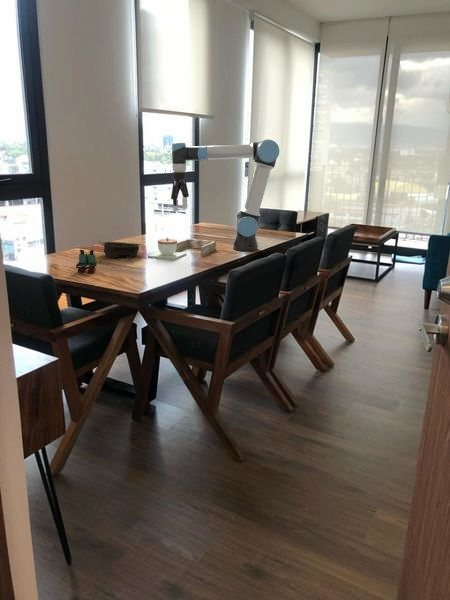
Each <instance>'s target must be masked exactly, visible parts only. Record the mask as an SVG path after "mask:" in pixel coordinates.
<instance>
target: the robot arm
mask: <svg viewBox="0 0 450 600" xmlns="http://www.w3.org/2000/svg"><path fill="white" fill-rule="evenodd" d="M279 155H280V147H279V144H277V142H276V141H274V140H272V139H269V138H268V139H264V140H261V141H257V142H251V143H249V144H228V145H227V144H225V145H204V146H203V145H200V146H199V145H198V146H191V145H190V146H187V145H186V143H185V142H173V143H171V158H172V159H171V160H172V165H171V167H172V179H173V181H172V188H171V190H172V191H171V194H170V200H172V206H173V207H172V209H173V212H179V200H178V197H179V194H180V192H181V195H182V198H181V200H182V209H184V210H185V209H186V210H187V209H188V198H190V195H189V190H188V185H187V180H186V179H187V172H186V171H187V161H200V162H201V161H202V162H203V161H207V160H208V161H209V160H233V159H234V160H235V159H251V160H252V161H253V162H254V164H255V168H254V171H253V176H252V178H251V183H250V186H249V190H248V192H247V197H246V201H245V204H244V207H243V208H242V209H240V210H238V211H237V212H236V235H235V240H234V242H233V245H232V248H233V250H235V251H240V252H253V251H255V252H256V251H257V249H258V250H259V245H258V241H257V237H256V233H257V231H259V230H258V229H259V223H260V219H261V216H262V215H261V214H260V209H261V205H262V201H263V199H264V195H265V191H266V187H267V185H268V182H269V181H268V180H269V177H270V175H271V174H270V173H271V170H272V169H275V166H276V162H277V159H278V157H279Z"/></svg>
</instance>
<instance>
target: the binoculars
mask: <svg viewBox="0 0 450 600" xmlns="http://www.w3.org/2000/svg"><path fill="white" fill-rule="evenodd" d="M79 252H80V253H79V254H78V262H77V263H76V264H75V268H76V269H77V274H84V273H85V272H87V273H88V274H93V273H95V271H97V269H96V267H97V266H98V265H97V258H96V254H95V253H94V252H95V250H94V249H90V250H89V251H88V252H89V253H85V249H79Z"/></svg>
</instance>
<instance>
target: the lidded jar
mask: <svg viewBox="0 0 450 600" xmlns="http://www.w3.org/2000/svg"><path fill="white" fill-rule="evenodd" d="M177 242H178V240H177V239H173V238H169V237H166V238H162V239H158V240H157V249H158V252H159V251H160V252H161V253H162V255H173V253H174V252H175V251H176V248H177Z"/></svg>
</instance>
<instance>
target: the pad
mask: <svg viewBox="0 0 450 600" xmlns="http://www.w3.org/2000/svg"><path fill="white" fill-rule="evenodd" d="M184 256H187V252H182V251H178V252H174V253H173V255H162V253H161V252H160V251H159V250H158V251H157V252H153V253H151V254H148V255H147V258H151V259H159V260H168V261H176V260H178V259H180V258H183V257H184Z"/></svg>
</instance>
